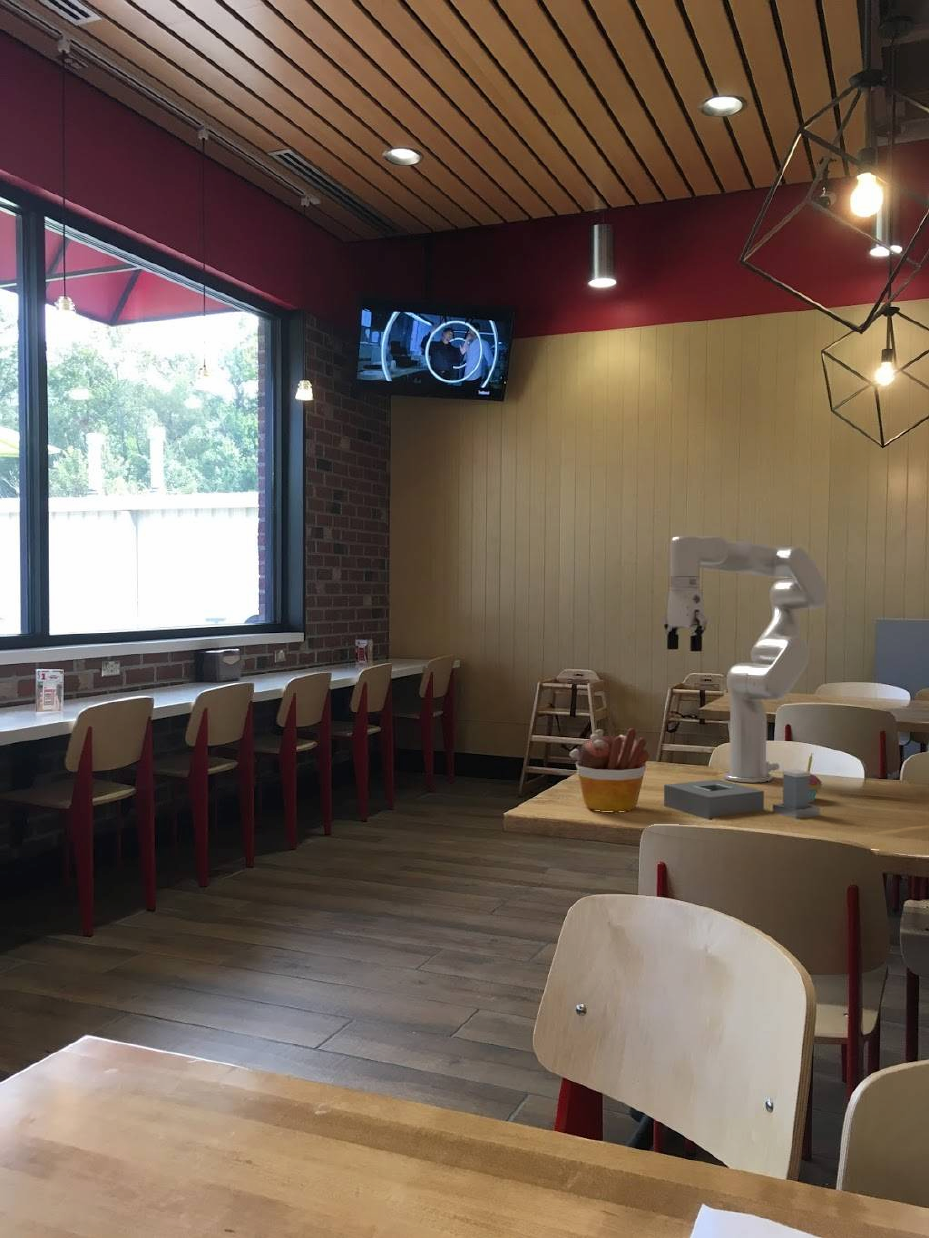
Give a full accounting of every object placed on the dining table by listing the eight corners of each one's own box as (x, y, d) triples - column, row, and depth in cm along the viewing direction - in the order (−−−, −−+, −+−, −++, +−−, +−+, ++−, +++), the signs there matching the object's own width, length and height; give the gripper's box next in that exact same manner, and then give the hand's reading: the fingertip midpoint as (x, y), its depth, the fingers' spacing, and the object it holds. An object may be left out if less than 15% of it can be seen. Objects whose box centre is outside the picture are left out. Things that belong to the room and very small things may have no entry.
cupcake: (821, 799, 244) (821, 751, 244) (821, 806, 236) (822, 756, 236) (784, 797, 247) (784, 749, 247) (783, 804, 239) (784, 754, 239)
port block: (717, 799, 244) (717, 778, 244) (763, 812, 230) (763, 790, 229) (664, 805, 237) (664, 783, 237) (708, 819, 222) (709, 796, 222)
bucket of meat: (560, 802, 240) (560, 720, 240) (620, 797, 246) (620, 717, 246) (601, 820, 221) (602, 731, 221) (665, 814, 228) (665, 727, 227)
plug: (796, 810, 229) (796, 769, 229) (809, 814, 225) (810, 772, 225) (782, 812, 227) (782, 770, 227) (795, 816, 223) (796, 773, 223)
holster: (796, 811, 231) (796, 801, 231) (819, 817, 224) (819, 807, 224) (772, 814, 228) (772, 804, 228) (795, 821, 221) (795, 810, 221)
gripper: (718, 583, 251) (717, 651, 252) (676, 584, 267) (675, 648, 267) (694, 583, 248) (693, 652, 248) (653, 584, 264) (652, 648, 264)
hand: (684, 650), depth 258 cm, fingers open, 9 cm apart
